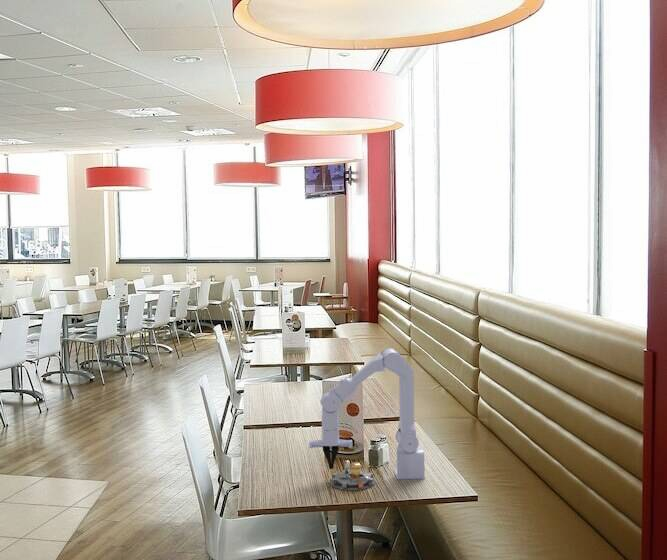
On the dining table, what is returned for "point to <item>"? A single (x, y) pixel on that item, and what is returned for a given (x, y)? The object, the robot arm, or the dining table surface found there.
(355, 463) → the roller
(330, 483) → the base flange
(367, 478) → the grey toothed wheel
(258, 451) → the dining table surface
